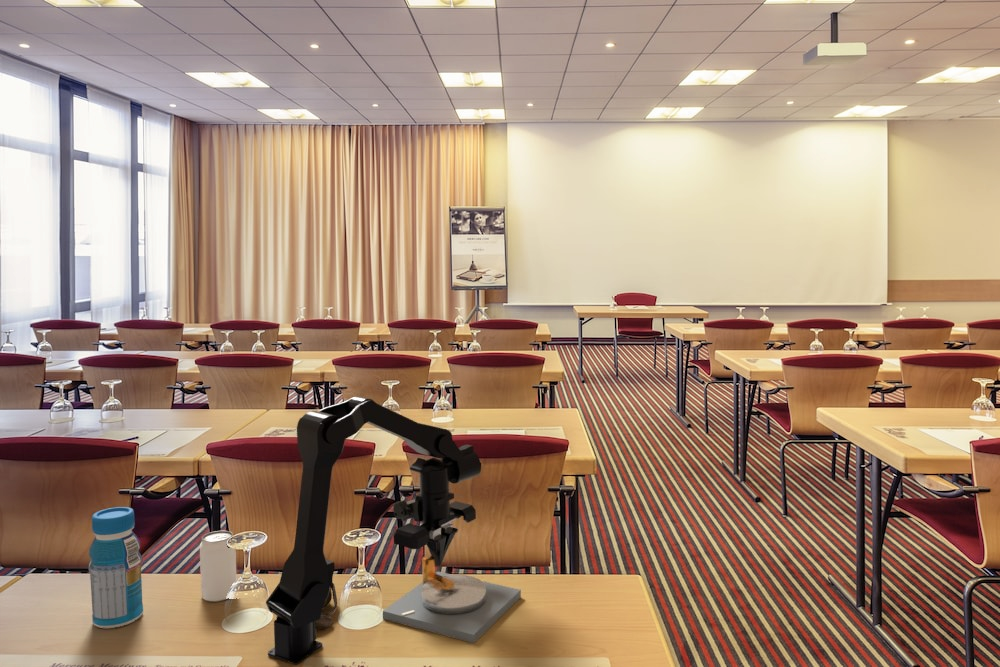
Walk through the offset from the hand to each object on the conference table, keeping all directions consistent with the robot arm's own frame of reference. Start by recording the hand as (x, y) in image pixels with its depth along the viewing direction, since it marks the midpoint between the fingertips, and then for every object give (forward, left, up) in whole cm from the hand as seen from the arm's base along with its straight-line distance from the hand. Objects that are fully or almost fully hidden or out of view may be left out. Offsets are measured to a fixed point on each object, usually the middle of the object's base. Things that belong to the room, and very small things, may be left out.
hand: (437, 565), depth 138 cm
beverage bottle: (-36, +46, -5) cm, 59 cm away
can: (-21, +37, -5) cm, 43 cm away
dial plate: (-5, -7, -5) cm, 10 cm away
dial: (-4, -5, -3) cm, 8 cm away
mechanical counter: (-19, +15, -5) cm, 25 cm away
